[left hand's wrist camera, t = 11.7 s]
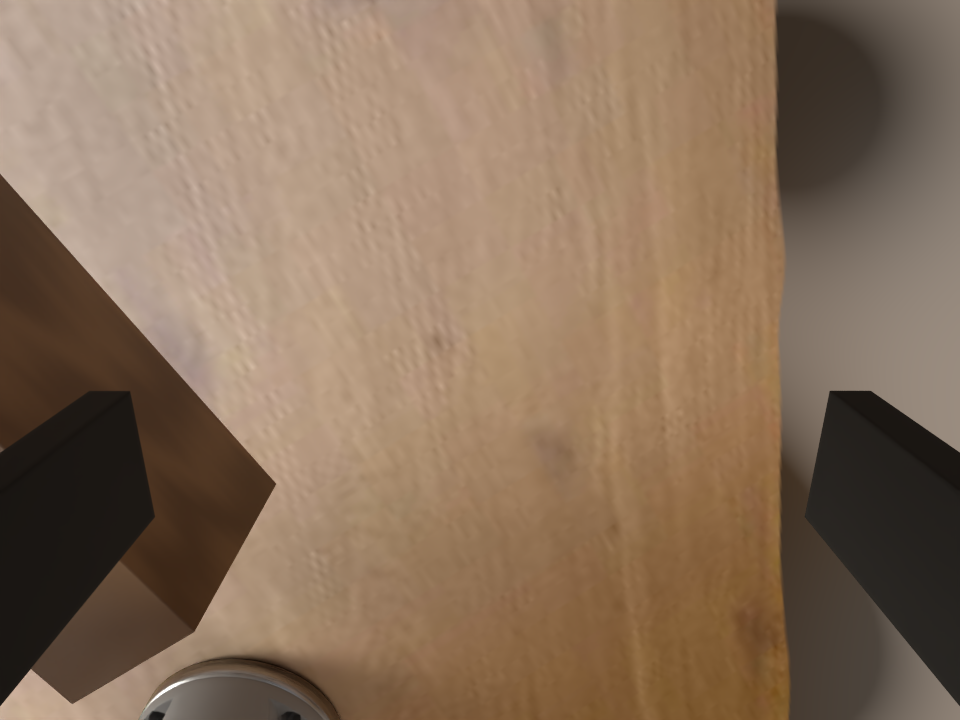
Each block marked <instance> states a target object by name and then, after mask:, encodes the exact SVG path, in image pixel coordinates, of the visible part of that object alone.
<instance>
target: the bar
mask: <svg viewBox="0 0 960 720" xmlns="http://www.w3.org/2000/svg"><path fill="white" fill-rule="evenodd" d="M88 391H130V393H131V398H132V403H133V408H134V413H135V418H136V423H137V428H138V433H139V438H140V443H141V448H142V453H143V458H144V463H145V468H146V473H147V478H148V483H149V488H150V493H151V498H152V503H153V508H154V513H155V518H154V519H153V520H152V521H151V523H150V524H149V525H148V526H147V527H146V529H145V530H144V531H143V532H142V534H141V535H140V536H139V537H138V538H137V540H136V541H135V542H134V543H133V545H132V546H131V547H130V548H129V549H128V551H127V552H126V553H125V554H124V556H123V557H122V558H121V559H120V560H119V562H118V563H117V564H116V565H115V567H114V568H113V569H112V570H111V571H110V573H109V574H108V575H107V576H106V578H105V579H104V580H103V581H102V582H101V584H100V585H99V586H98V587H97V589H96V590H95V591H94V592H93V593H92V595H91V596H90V597H89V598H88V599H87V601H86V602H85V603H84V604H83V606H82V607H81V608H80V609H79V610H78V612H77V613H76V614H75V615H74V617H73V618H72V619H71V620H70V621H69V623H68V624H67V625H66V626H65V628H64V629H63V630H62V631H61V632H60V634H59V635H58V636H57V637H56V639H55V640H54V641H53V642H52V643H51V645H50V646H49V647H48V648H47V650H46V651H45V652H44V653H43V654H42V656H41V657H40V658H39V659H38V661H37V662H36V663H35V664H34V665H33V667H32V668H31V669H32V670H33V671H34V672H35V673H36V674H38V675H39V676H40V677H41V678H42V679H43V680H45V681H46V682H47V683H48V684H49V685H50V686H52V687H53V688H54V689H55V690H56V691H57V692H59V693H60V694H61V695H62V696H63V697H65V698H66V699H67V700H68V701H69V702H70V703H72V704H73V703H75V702H77V701H78V700H80V699H82V698H83V697H85V696H87V695H88V694H90V693H92V692H93V691H95V690H97V689H99V688H100V687H102V686H104V685H105V684H107V683H109V682H110V681H112V680H114V679H115V678H117V677H119V676H120V675H122V674H124V673H126V672H127V671H129V670H131V669H132V668H134V667H136V666H137V665H139V664H141V663H142V662H144V661H146V660H148V659H149V658H151V657H153V656H154V655H156V654H158V653H159V652H161V651H163V650H164V649H166V648H168V647H170V646H171V645H173V644H175V643H176V642H178V641H180V640H181V639H183V638H185V637H186V636H188V635H190V634H191V633H193V632H194V631H195V630H196V628H197V626H198V624H199V622H200V621H201V619H202V617H203V615H204V613H205V612H206V610H207V608H208V606H209V604H210V603H211V601H212V599H213V597H214V595H215V594H216V592H217V590H218V588H219V586H220V585H221V583H222V581H223V579H224V577H225V575H226V574H227V572H228V570H229V568H230V566H231V565H232V563H233V561H234V559H235V557H236V556H237V554H238V552H239V550H240V548H241V547H242V545H243V543H244V541H245V539H246V538H247V536H248V534H249V532H250V530H251V529H252V527H253V525H254V523H255V521H256V520H257V518H258V516H259V514H260V512H261V511H262V509H263V507H264V505H265V503H266V502H267V500H268V498H269V496H270V494H271V493H272V491H273V489H274V487H275V485H276V483H275V482H274V481H273V480H272V479H271V477H270V476H269V475H268V474H267V473H266V472H265V471H264V470H263V468H262V467H261V466H260V465H259V464H258V463H257V462H256V461H255V460H254V458H253V457H252V456H251V455H250V454H249V453H248V452H247V451H246V449H245V448H244V447H243V446H242V445H241V444H240V443H239V442H238V440H237V439H236V438H235V437H234V436H233V435H232V434H231V433H230V431H229V430H228V429H227V428H226V427H225V426H224V425H223V424H222V422H221V421H220V420H219V419H218V418H217V417H216V416H215V415H214V413H213V412H212V411H211V410H210V409H209V408H208V407H207V406H206V404H205V403H204V402H203V401H202V400H201V399H200V398H199V397H198V396H197V394H196V393H195V392H194V391H193V390H192V389H191V388H190V387H189V385H188V384H187V383H186V382H185V381H184V380H183V379H182V378H181V376H180V375H179V374H178V373H177V372H176V371H175V370H174V369H173V367H172V366H171V365H170V364H169V363H168V362H167V361H166V360H165V358H164V357H163V356H162V355H161V354H160V353H159V352H158V351H157V349H156V348H155V347H154V346H153V345H152V344H151V343H150V342H149V341H148V339H147V338H146V337H145V336H144V335H143V334H142V333H141V332H140V330H139V329H138V328H137V327H136V326H135V325H134V324H133V323H132V321H131V320H130V319H129V318H128V317H127V316H126V315H125V314H124V312H123V311H122V310H121V309H120V308H119V307H118V306H117V305H116V303H115V302H114V301H113V300H112V299H111V298H110V297H109V296H108V294H107V293H106V292H105V291H104V290H103V289H102V288H101V287H100V286H99V284H98V283H97V282H96V281H95V280H94V279H93V278H92V277H91V275H90V274H89V273H88V272H87V271H86V270H85V269H84V268H83V266H82V265H81V264H80V263H79V262H78V261H77V260H76V259H75V257H74V256H73V255H72V254H71V253H70V252H69V251H68V250H67V248H66V247H65V246H64V245H63V244H62V243H61V242H60V241H59V239H58V238H57V237H56V236H55V235H54V234H53V233H52V232H51V230H50V229H49V228H48V227H47V226H46V225H45V224H44V223H43V222H42V220H41V219H40V218H39V217H38V216H37V215H36V214H35V213H34V211H33V210H32V209H31V208H30V207H29V206H28V205H27V204H26V202H25V201H24V200H23V199H22V198H21V197H20V196H19V195H18V193H17V192H16V191H15V190H14V189H13V188H12V187H11V186H10V184H9V183H8V182H7V181H6V180H5V179H4V178H3V177H2V175H1V174H0V452H2V451H3V450H5V449H6V448H8V447H9V446H11V445H12V444H13V443H15V442H16V441H18V440H19V439H21V438H22V437H24V436H25V435H26V434H28V433H29V432H31V431H32V430H34V429H35V428H37V427H38V426H39V425H41V424H42V423H44V422H45V421H47V420H48V419H50V418H51V417H52V416H54V415H55V414H57V413H58V412H60V411H61V410H62V409H64V408H65V407H67V406H68V405H70V404H71V403H73V402H74V401H75V400H77V399H78V398H80V397H81V396H83V395H84V394H86V393H87V392H88Z"/></svg>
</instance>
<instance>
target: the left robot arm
mask: <svg viewBox="0 0 960 720" xmlns="http://www.w3.org/2000/svg"><path fill="white" fill-rule="evenodd" d="M154 518H155V513H154V508H153V503H152V498H151V493H150V488H149V483H148V478H147V473H146V468H145V463H144V458H143V453H142V448H141V443H140V438H139V433H138V428H137V423H136V418H135V413H134V408H133V403H132V398H131V393H130V391H88V392H87V393H86V394H84V395H83V396H81V397H80V398H78V399H77V400H75V401H74V402H73V403H71V404H70V405H68V406H67V407H65V408H64V409H62V410H61V411H60V412H58V413H57V414H55V415H54V416H52V417H51V418H50V419H48V420H47V421H45V422H44V423H42V424H41V425H39V426H38V427H37V428H35V429H34V430H32V431H31V432H29V433H28V434H26V435H25V436H24V437H22V438H21V439H19V440H18V441H16V442H15V443H13V444H12V445H11V446H9V447H8V448H6V449H5V450H3V451H2V452H0V706H1V705H2V703H3V702H4V701H5V700H6V698H7V697H8V696H9V695H10V694H11V692H12V691H13V690H14V689H15V687H16V686H17V685H18V684H19V683H20V681H21V680H22V679H23V678H24V676H25V675H26V674H27V673H28V672H29V670H30V669H31V668H32V667H33V665H34V664H35V663H36V662H37V661H38V659H39V658H40V657H41V656H42V654H43V653H44V652H45V651H46V650H47V648H48V647H49V646H50V645H51V643H52V642H53V641H54V640H55V639H56V637H57V636H58V635H59V634H60V632H61V631H62V630H63V629H64V628H65V626H66V625H67V624H68V623H69V621H70V620H71V619H72V618H73V617H74V615H75V614H76V613H77V612H78V610H79V609H80V608H81V607H82V606H83V604H84V603H85V602H86V601H87V599H88V598H89V597H90V596H91V595H92V593H93V592H94V591H95V590H96V589H97V587H98V586H99V585H100V584H101V582H102V581H103V580H104V579H105V578H106V576H107V575H108V574H109V573H110V571H111V570H112V569H113V568H114V567H115V565H116V564H117V563H118V562H119V560H120V559H121V558H122V557H123V556H124V554H125V553H126V552H127V551H128V549H129V548H130V547H131V546H132V545H133V543H134V542H135V541H136V540H137V538H138V537H139V536H140V535H141V534H142V532H143V531H144V530H145V529H146V527H147V526H148V525H149V524H150V523H151V521H152V520H153V519H154ZM805 518H806V519H807V520H808V521H809V523H810V524H811V525H812V526H813V527H814V529H815V530H816V531H817V532H818V533H819V535H820V536H821V537H822V538H823V540H824V541H825V542H826V543H827V545H828V546H829V547H830V548H831V549H832V551H833V552H834V553H835V554H836V556H837V557H838V558H839V559H840V560H841V562H842V563H843V564H844V565H845V567H846V568H847V569H848V570H849V571H850V573H851V574H852V575H853V576H854V577H855V579H856V580H857V581H858V582H859V584H860V585H861V586H862V587H863V589H864V590H865V591H866V592H867V593H868V595H869V596H870V597H871V598H872V599H873V601H874V602H875V603H876V604H877V606H878V607H879V608H880V609H881V610H882V612H883V613H884V614H885V615H886V617H887V618H888V619H889V620H890V621H891V623H892V624H893V625H894V626H895V628H896V629H897V630H898V631H899V632H900V634H901V635H902V636H903V637H904V639H905V640H906V641H907V642H908V643H909V645H910V646H911V647H912V648H913V649H914V651H915V652H916V653H917V654H918V656H919V657H920V658H921V659H922V661H923V662H924V663H925V664H926V665H927V667H928V668H929V669H930V670H931V672H932V673H933V674H934V675H935V676H936V678H937V679H938V680H939V681H940V682H941V684H942V685H943V686H944V687H945V689H946V690H947V691H948V692H949V693H950V695H951V696H952V697H953V698H954V700H955V701H956V702H957V703H958V704H959V706H960V452H958V451H957V450H955V449H954V448H952V447H951V446H949V445H948V444H947V443H945V442H944V441H942V440H941V439H939V438H938V437H936V436H935V435H934V434H932V433H931V432H929V431H928V430H926V429H925V428H923V427H922V426H921V425H919V424H918V423H916V422H915V421H913V420H912V419H910V418H909V417H908V416H906V415H905V414H903V413H902V412H900V411H899V410H898V409H896V408H895V407H893V406H892V405H890V404H889V403H887V402H886V401H885V400H883V399H882V398H880V397H879V396H877V395H876V394H874V393H873V392H872V391H830V393H829V398H828V403H827V408H826V413H825V418H824V423H823V428H822V433H821V438H820V443H819V448H818V453H817V458H816V463H815V468H814V473H813V478H812V483H811V488H810V493H809V498H808V503H807V508H806V513H805ZM139 720H340V719H339V716H338V714H337V712H336V711H335V709H334V707H333V706H332V705H331V703H330V702H329V701H328V700H327V698H326V697H325V696H324V695H323V694H322V693H321V692H320V691H319V690H318V689H317V688H315V687H314V686H313V685H311V684H310V683H309V682H307V681H306V680H304V679H303V678H301V677H299V676H297V675H296V674H294V673H292V672H289V671H287V670H285V669H283V668H280V667H277V666H274V665H271V664H267V663H263V662H258V661H253V660H244V659H220V660H211V661H207V662H202V663H198V664H195V665H192V666H189V667H187V668H184V669H182V670H180V671H178V672H177V673H175V674H173V675H172V676H170V677H169V678H168V679H166V680H165V681H164V682H163V683H162V684H161V685H160V686H159V687H158V688H157V689H156V691H155V692H154V693H153V695H152V696H151V698H150V700H149V702H148V703H147V705H146V707H145V709H144V710H143V712H142V714H141V716H140V718H139Z"/></svg>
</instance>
